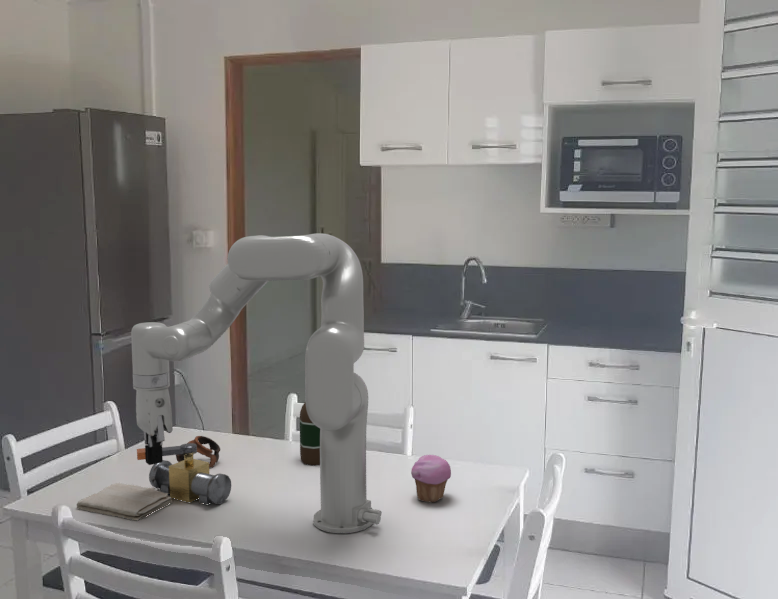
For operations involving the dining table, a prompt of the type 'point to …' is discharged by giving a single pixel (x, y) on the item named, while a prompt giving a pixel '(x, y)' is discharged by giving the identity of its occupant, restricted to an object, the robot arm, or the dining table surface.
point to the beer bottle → (309, 439)
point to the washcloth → (125, 501)
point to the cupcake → (431, 477)
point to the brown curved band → (204, 449)
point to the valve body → (190, 481)
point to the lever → (172, 450)
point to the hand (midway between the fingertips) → (154, 462)
